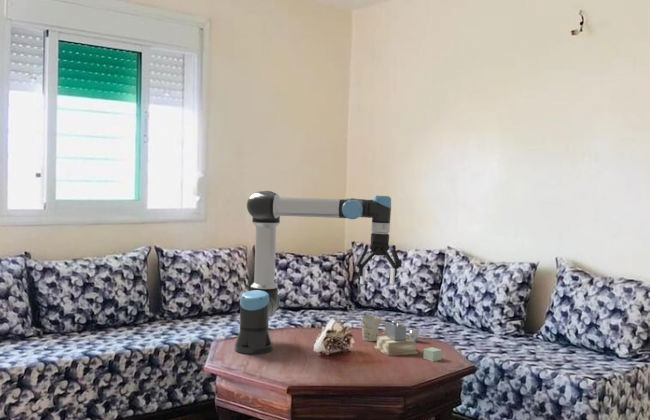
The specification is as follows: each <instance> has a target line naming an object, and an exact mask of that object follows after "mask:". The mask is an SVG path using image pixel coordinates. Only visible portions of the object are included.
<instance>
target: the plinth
mask: <svg viewBox="0 0 650 420" xmlns="http://www.w3.org/2000/svg"><path fill="white" fill-rule="evenodd" d="M416 343H417V342H416V341H414V340H412V339H410V338H409V336H406V341H393V340H391V339H390V338H388V337H387V335H383V336H377V340H376V345H373V347H374V349H375V350H378V351H379V352H381V353H382V354H384V355H385V356H388V357H390V356H391V357H392V356H407V355H409V356H410V355H418V354H419V352H418V351H417V350H416Z"/></svg>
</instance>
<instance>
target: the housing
mask: <svg viewBox="0 0 650 420" xmlns="http://www.w3.org/2000/svg"><path fill="white" fill-rule="evenodd" d="M386 323H387V332H386V336H387V337H388V338H390V339H391V340H393V341H406V337H407V326H406V325H404V324H402V323H401V322H398V321H397V320H392V321H391V322H386Z"/></svg>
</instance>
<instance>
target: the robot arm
mask: <svg viewBox="0 0 650 420" xmlns="http://www.w3.org/2000/svg"><path fill="white" fill-rule="evenodd" d="M246 209H247V212H248V213H249V215H250V216H251V217H252V224H253V225H254V226H255V239H254V240H255V244H254V246H255V247H254V250H255V251H254V278H253V280H254V281H253V283H252V284H251V285H250V290H248V291H244V292H243V293H242V294H241V295H240V301H239V333H238V335H237V337H236V340H235V343H234V350H235V351H236V352H237V353H239V354H241V353H242V354H248V355H261V354H266V353H269V352H271V351H272V350H273V343H272V340H271V336H270V333H269V318H270V317H272V316H273V315H274V314H275V313H276V312H277V311H278V309H279V307H280V303H281V301H280V300H281V299H280V295H279V293H278V292H279V291H278V288H279V287H278V285H277V283H275V278H276V277H275V271H276V270H275V269H276V268H275V267H276V266H275V265H276V243H277V242H276V239H277V238H276V236H277V226H278V225H279V224H280V223H281V220H280V219H281V217H304V218H326V219H327V218H331V219H333V218H334V219H335V218H336V219H349V220H356V219H358V218H366V219H367V218H368V219H371V230H370V231H371V234H370V244H366V243H363V245H362V249H361V251H360V253H359V255H358V257H357V259H356V261H355V263H354V266H355V267H357V268H358V277H359V278H360V279H359V284H360V285H365V277H366V269H365V267H366V265H367V264H368V263H369V262H370V261H371V259H372V258H373V257H375V256H384V257H385V258H386V260H387V262H388V263H389V264H390V265H391V267H390V273H389V274H390V276H389V284H390V285H395V277H396V276H397V274H398V273H397V271H398V269H399V268H401V267H402V263H401V261H400V258H399V255H398V253H397V248H396V245H395V244H389V242H390V234H389V233H390V230H391V228H390V227H391V216H392V215H391V213H392V198H391V197H390V196H389V195H378V194H377V195H376V194H375V195H373V198H372V199H365V198H363V199H362V198H354V197H353V198H352V197H351V198H343V199H341V198H320V197H318V198H315V197H314V198H312V197H289V196H288V197H287V196H285V197H284V196H280V195H278V193H276V192H274V191H271V190H261V191H260V190H259V191H256V192H254V193H252V194H251V195H250V196H249V197H248V199H247V202H246ZM369 249H370V251H369V252H368V250H369ZM389 250H390V253H391V255H392V257H393V258H392V257H391V255H390V253H389V252H388V251H389ZM367 252H368V254H367ZM366 254H367V255H366Z"/></svg>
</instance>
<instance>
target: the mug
mask: <svg viewBox="0 0 650 420" xmlns="http://www.w3.org/2000/svg"><path fill="white" fill-rule="evenodd" d="M360 321H361V331H362V332H361V334H362V340H363V341H365V342H375V341H376V342H377V336H385V335H386V334H387V323H388V322H386V321H385V320H381V318H380V317H379V316H378V315H377V316H376V315H362V316H361V317H360ZM381 324H383V325H384V331H383V332H382V333H379V326H380V325H381Z"/></svg>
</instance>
